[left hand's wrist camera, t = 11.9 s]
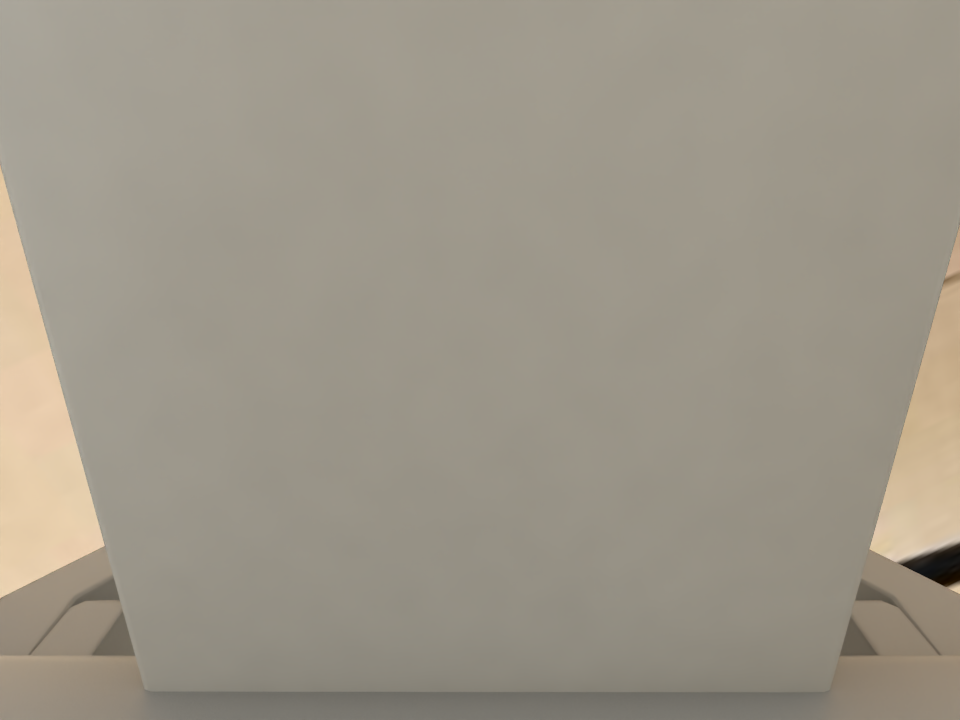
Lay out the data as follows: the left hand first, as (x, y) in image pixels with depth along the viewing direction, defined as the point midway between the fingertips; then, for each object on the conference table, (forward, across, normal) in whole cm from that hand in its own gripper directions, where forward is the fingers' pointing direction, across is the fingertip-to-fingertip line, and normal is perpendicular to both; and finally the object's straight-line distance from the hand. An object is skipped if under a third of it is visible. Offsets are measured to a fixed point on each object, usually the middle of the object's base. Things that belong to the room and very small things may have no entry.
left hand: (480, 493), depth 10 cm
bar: (+3, 0, -9) cm, 9 cm away
